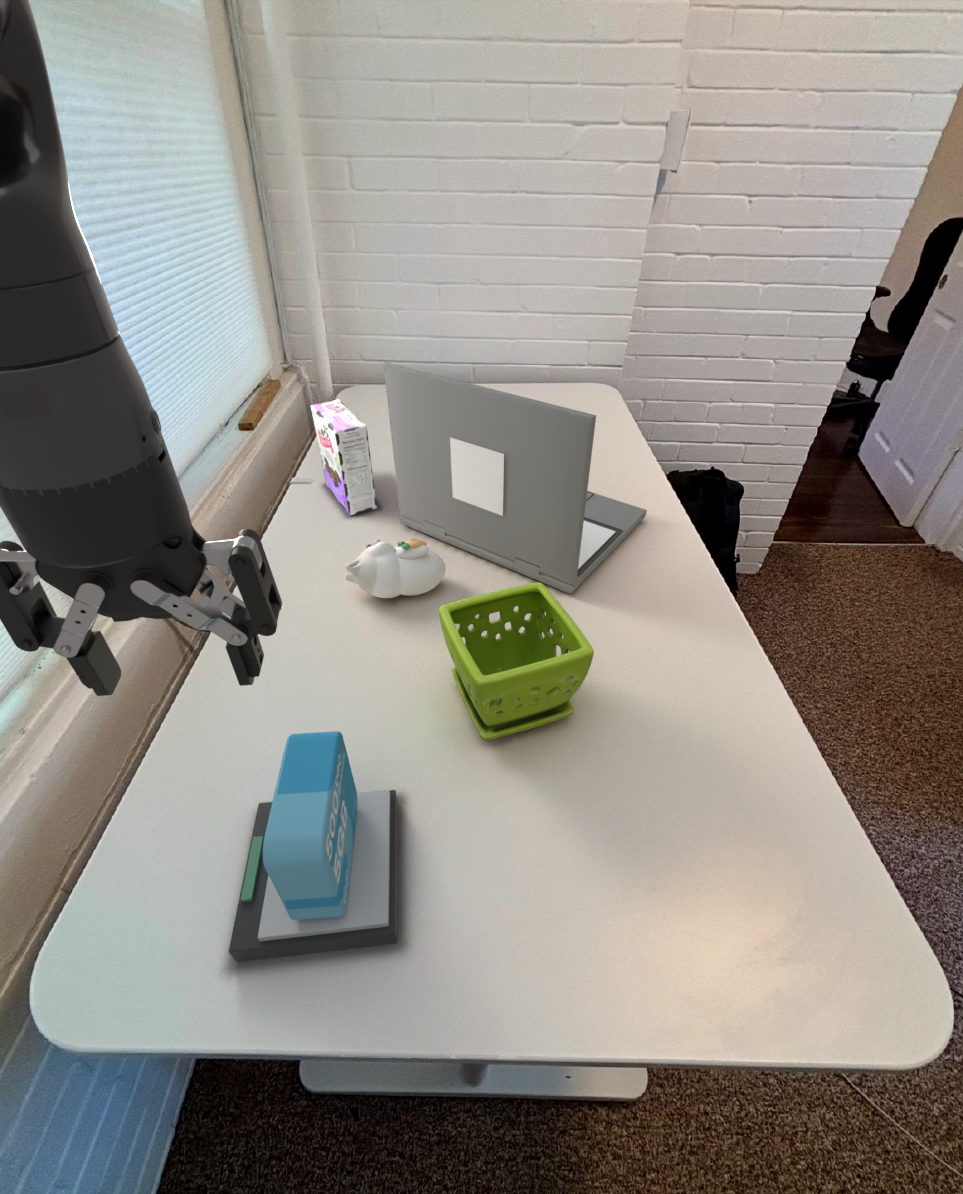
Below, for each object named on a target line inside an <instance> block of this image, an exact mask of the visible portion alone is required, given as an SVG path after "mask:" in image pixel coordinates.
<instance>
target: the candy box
mask: <svg viewBox="0 0 963 1194" xmlns="http://www.w3.org/2000/svg"><path fill="white" fill-rule="evenodd" d="M310 410H311V416H312V420H313V424H314V426H313V427H314V430H315V435H316V439H317V444H318V449H319V453H320V458H321V464H322V468H323V475H324V481H325V484H326V486H327V488H328V490H330V492H331V493H332V494H333V496H334V497H335V498H336V500H337V501H338V503H340V505H341V506H342V507H343V508H342V509H344V510H345V512H346V513H347V514H348V515H349V516H353V515H357V514H361V513H365V512H369V511H373V510H377V509H378V503H377V496H376V489H375V481H374V473H373V466H372V458H371V448H370V442H369V441H370V440H369V433H368V427H367V424H366V423H364V422H362V420H360V418H359V417H357V415H356V414H354V413H353V411H352V410H350V408H348V407H347V406H346V405H345V404H344V403H343V402H342V400H341V399H340V398H338V399H334V400H329V401H328V400H327V401H324V402H320V403H314V404H311V405H310Z"/></svg>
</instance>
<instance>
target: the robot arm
mask: <svg viewBox="0 0 963 1194" xmlns="http://www.w3.org/2000/svg"><path fill="white" fill-rule="evenodd" d="M51 86H52V85H51V81H50V77H49V73H48V67H47V64H46V59H45V55H44V51H43V46H42V42H41V38H40V34H39V31H38V28H37V23H36V19H35V16H34V14H33V10H32V7H31V3H30V1H29V0H0V509H1V511H2V513H3V514H4V516H5V517H6V520H7V521H8V523H9V524H10V526H11V528H12V530H13V531H14V534H15V535H16V537H17V538H18V540H19V541H20V543H21V545H22V546H21V545H20V544H18V542H15V541H13V540H2V541H0V621H1V623H2V625H3V627H4V628H5V630H6V632H7V633H8V635H9V637H10V639H11V641H12V642H13V643H14V645H15V646H16V647H17V648H18V649H20V650H21V651H23V652H30V653H31V652H36V651H38V650H39V648H46V649H52V650H53V652H55V653H56V654H57V655H59V656H60V657H63V658H66V660H67V662H68V663H69V665H70V667H71V668H72V669H73V671H74V672H75V675H76V676H77V677H78V680H79V681H80V683H81V685H83V686H84V687H86V688H87V689H89V690H90V689H92V690H93V692H94V694H95V695H96V697H105V696H106V697H107V696H112V695H113V694H114V692H115V690H116V689H117V686H118V684H119V682H120V680H121V678H122V669H121V666H120V664H119V663H118V661H117V659H116V657H115V655H114V653H113V652H112V650H111V648H110V645H109V644H108V643H107V640H106V639H105V637H104V635H103V633H102V631H101V630H92V629H93V627H94V626H95V624H96V622H97V620H98V618H99V615H100V616H103V617H106V618H111V620H112V621H113V623H119V622H130V621H133V620H136V619H141V618H144V619H145V618H146V619H153V620H164V619H172V618H173V616H174V617H175V618H177V619H179V621H180V620H181V621H182V622H184V623H185V624H187V625H188V626H190V627H192V628H193V629H195V630H197V631H202V630H208V631H209V632H211V633H212V634H214V635H216V636H217V637H219V638H220V639H222V640H224V641H225V642H226V643H225V650H226V653H227V656H228V658H229V660H230V664H231V667H232V668H233V671H234V674H235V677H236V680H237V682H238V685H239V686H241V687H242V686H253V685H254V683H255V678H257V677H260V674H261V670H262V666H263V663H264V658H265V653H264V649H263V646H262V644H261V643H262V642H261V640H260V637H259V635H260V636H263V637H270V636H273V635H274V634H275V633H276V632H277V629H278V628H277V627H278V621H279V615H280V612H281V610H282V606H283V601H282V597H281V594H280V592H279V589H278V586H277V583H276V580H275V577H274V575H273V572H272V569H271V566H270V563H269V560H268V557H267V554H266V551H265V548H264V546H263V543H262V540H261V538H260V535H259V533H257V532H256V531H255V530H253V529H250V528H243V529H241V530H239V531H238V532H237V534H236V538H233V539H223V540H222V539H221V540H213V541H207V540H206V539H205V538H204V536H203V537H202V535H201V534H200V533H199V532H198V531H197V530H196V529H195V527H194V525H193V523H192V520H191V516H190V511H189V508H188V504H187V502H186V498H185V496H184V492H183V489H182V487H181V483H180V482H179V481H180V480H179V478H178V475H177V473H176V470H175V467H174V465H173V461H172V459H171V455H170V453H169V450H168V447H167V444H166V442H165V439H164V435H163V433H162V425H161V420H160V418H159V417H160V416H159V415H158V411H157V410H156V409H155V408H154V406H153V405H152V401H151V399H150V396H149V393H148V391H147V388H146V386H145V383H144V381H143V378H142V377H141V375H140V373H139V370H138V368H137V366H136V365H135V362H134V360H133V359H132V357H131V355H130V353H129V350H128V349H127V347H126V345H125V342H124V340H123V337H122V334H121V333H120V331H119V328H118V325H117V322H116V320H115V316H114V314H113V311H112V308H111V306H110V303H109V300H108V297H107V294H106V291H105V289H104V286H103V283H102V281H101V278H100V275H99V272H98V269H97V267H96V263H95V260H94V257H93V255H92V252H91V250H90V248H89V245H88V242H87V241H86V238H85V236H84V234H83V232H82V229H81V227H80V224H79V222H78V221H79V220H78V219H77V216H76V212H75V209H74V205H73V200H72V196H71V190H70V183H69V176H68V175H69V174H68V168H67V161H66V154H65V149H64V144H63V139H62V135H61V134H62V133H61V131H60V125H59V120H58V116H57V109H56V106H55V101H54V96H53V91H52V87H51ZM207 566H213V567H216V568H217V569H219V570H220V571H221V572H222V574H223V575H224V576H225V580H226V581H227V582H229V583H234V582H235V584H236V586H237V589H238V591H239V594H240V596H241V598H242V599H241V598H239V597H237V596H236V595H235V594H234V593H232V592H231V591H230V590H229V589H228V585H227V583H226V582H225V581H224V580H223V579H221V578H220V577H218V576H217V575H215V574H214V573H212V572H211V571H210V570H208V569H207ZM40 580H43V582H45V583H46V584H47V585H50V586H51V587H53V588H55V589H57V590H58V591H60V592H62V593H63V594H64V595H66V596H68V597H69V598H71V599H73V601H72V603H71V605H70V607H69V609H68V613H67V614H66V617H63V616H58V615H57V612H56V611H55V609H54V607H53V605H52V603H51V601H50V599H49V597H48V595H47V593H46V592H45V589H44V587H43V585H42V583H41V581H40ZM195 590H197V591H198V592H199V594H200V596H201V597H200V600H199V603H198V602H196V601H195V600H194V599H192V598H191V597H192V595H193V593H194V591H195Z"/></svg>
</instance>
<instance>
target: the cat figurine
mask: <svg viewBox="0 0 963 1194" xmlns="http://www.w3.org/2000/svg"><path fill="white" fill-rule="evenodd" d="M396 544H397V546H393V545H391V544H390V543H389V542H387V541H380V539H379V538H377V539H375V540H374V544H367V545H365V546H366V547H365V548H364V549H363V550H362V552H360V554H359V555H358V556H357V557H356V558H355V559H353V560H351V561H348V562H347V563H346V564H345V565H344V568H345V570H346V571H347V572H346V573H345V574H344V575H345V579H346V580H347V581H348V582H350V583H353V584H356V585H358V587H359V588H360V589H361V590H362V591H363V592H364V593H366V594H368V595H370V596H372V597H376V598H379V599H380V598H381V599H393V598H396V597H399V596H406V597H407V596H409V597H410V596H420V595H422V594H425V593H428V592H430V591H432V590H433V589H435V588H436V587H437V586H438V585H439V584H440V583H441V582H442V580H443V579H444V577H445V574H446V563H445V561H444V559H443V558H442V557H441V556H440V555H439V554H438V553H437V552H436V551H434V550H432V549H431V548H429V547H428V546H427V544H428V543H427V542H426V541H425V540H422V539H418V538H417V539H416V538H409V539H407V540H406V541H403V540H402V541H398V542H396Z"/></svg>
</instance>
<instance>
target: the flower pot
mask: <svg viewBox="0 0 963 1194" xmlns="http://www.w3.org/2000/svg"><path fill="white" fill-rule="evenodd" d="M516 607H517V610H515V608H516ZM495 613H499V619H496V620H493V621H491V620H490V615H491V614H495ZM528 614H530V615H529V618H528V619H525V618H526V615H528ZM438 615H439V622H440V627H441V630H442V635H443V638H444V641H445V645H446V648H447V650H448V652H449V655H450V657H451V659H452V662H453V665H454V667H453V668H451V674H452V676H453V678H454V681H455V683H456V686H457V689H458V690H459V692H460V695H461V697H462V699H463V702H464V704H465V706H466V709H467V712H468V714H469V716H470V717H471V719H472V721H473V724H474V726H475V728H476V729H477V732H478V733H479V735H480V737H481V738H482V740H483V741H493V740H495V739H499V738H502V737H506V736H509V735H513V734H517V733H521V732H523V731H524V732H525V731H527V730H530V729H534V728H537V727H540V726H543V725H547V724H549V723H553V722H556V721H560V720H563V719H565V718H568V717H570V716H571V715H574V714H575V712H576V708H575V706H574V704H573V702H572V701H571V698H573V696H575V694H576V693H577V691H579V689H580V688H581V686H582V684H584V681H585V680H586V677H587V675H588V674H589V671H590V668H591V665H592V662H593V658H594V653H595V652H594V648H593V646H592V645H591V643H590V642H589V640H588V639H587V637H586V636H585V634H584V633H583V631H582V630H581V629H580V627H579V626H578V625H577V624H576V622H575V621H574V620H573V618H572V617H571V615H570V614H569V612H567V610H565V608H564V607H563V605H562V604H561V602H559V601H558V600H557V598H556V596H554V595H553V594H552V592H551V591H550V590H549V589H548V588H547V587H546V586H545V584H544V583H542V582H540V581H538V582H532V583H526V584H521V585H515V586H512V587H508V588H503V589H498V590H495V591H490V592H487V593H483V594H477V595H473V596H470V597H466V598H463V599H459V600H456V601H452V602H448V603H444V604H442V605H440V606H439V608H438ZM477 615H478V616H477ZM507 623H510V628H506V624H507ZM456 625H459V626H458V628H457V626H456ZM471 625H472V628H470V629H469V626H471ZM521 628H524V630H523V631H522V632H520V629H521ZM483 632H486V634H485V635H482V634H483ZM551 632H552V633H551ZM498 634H499V637H498V638H497V635H498ZM543 635H544V636H543ZM463 638H464V639H463ZM464 641H465V642H464ZM557 646H558V647H559V648H560V655H557Z"/></svg>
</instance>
